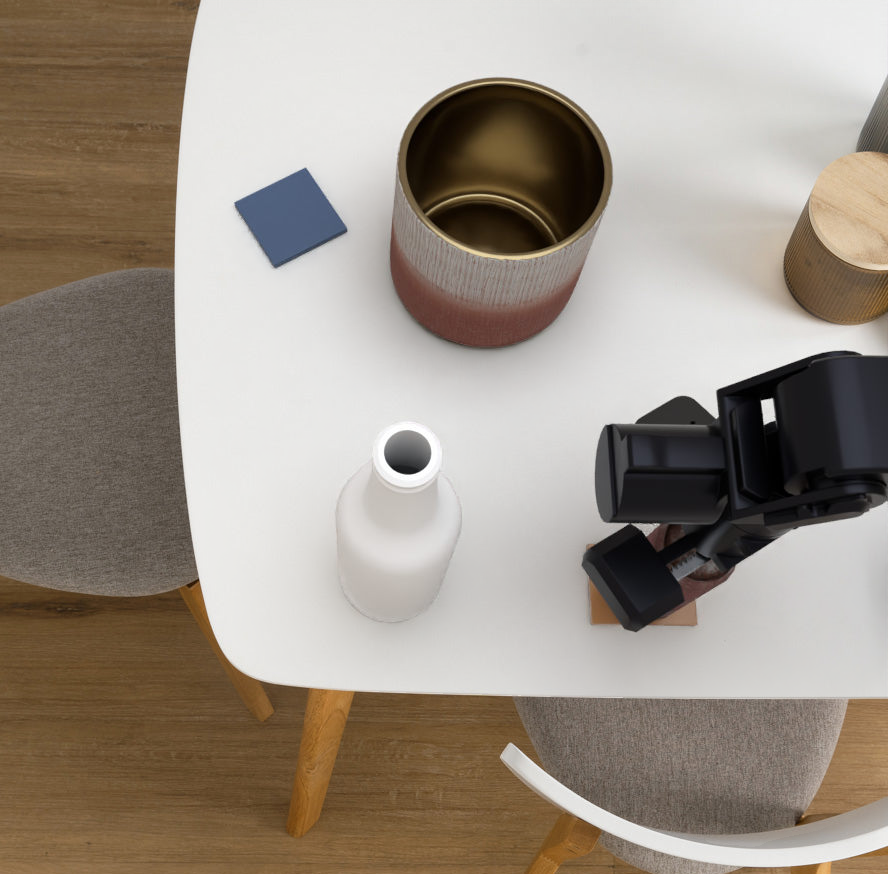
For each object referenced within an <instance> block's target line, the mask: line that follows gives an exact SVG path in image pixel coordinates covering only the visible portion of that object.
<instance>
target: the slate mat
mask: <svg viewBox="0 0 888 874" xmlns="http://www.w3.org/2000/svg"><path fill="white" fill-rule="evenodd" d="M233 203H234V207H235V209H236V210H237V212H238V213H239V215H240V217H241V218H242V219H243V221H244V222H245V224H246V226H247V227H248V229H249V231H250V232H251V233H252V235H253V237H254V238H255V240H256V242H258V244H259V246H260V247H261V249H262V251H263V252H264V254H265V255H266V257H267V258H268V260H269V262H270V263H271V265H272V266H273V268H275V269H277V268H278V267H280V266H283V265H284V264H287V263H289V262H291V261H292V260H294V259H296V258H299V257H300V256H302V255H304V254H306V253H308V252H310V251H312V250H313V249H316V248H317V247H319V246H322V245H324V244H325V243H328V242H329V241H332V240H333V239H335V238H338V237H340V236H342V235H343V234H346V233H347V232H348V227H347V226H346V224H345V223H344V221H343V220H342V218H341V217H340V215H339V214H338V212H337V211H336V210H335V208H334V206H333V205H332V204H331V202H330V201H329V199H328V198H327V196H326V195H325V193H324V192H323V190H322V189H321V187H320V186H319V184H318V182H317V181H316V179H315V178H314V177H313V175H312V174H311V172H310V171H309V170H308V168H307V167H306V166H305V167H304V168H301V169H299V170H297V171H295V172H293V173H291V174H289V175H287V176H285V177H283V178H281V179H279V180H277V181H274V182H273V183H271V184H268V185H267V186H264V187H262V188H261V189H258V190H257V191H255V192H253V193H250V194H248V195H246V196H244V197H242V198H240V199H238V200H236V201H235V202H233Z"/></svg>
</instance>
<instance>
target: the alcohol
mask: <svg viewBox="0 0 888 874" xmlns="http://www.w3.org/2000/svg"><path fill="white" fill-rule="evenodd" d="M442 462H443V448H442V444H441V442H440V440H439V438H438V437H437V435H436V434H435V432H433V431H432V430H431V429H430V428H429V427H427V426H426V425H424V424H421V423H418V422H414V421H399V422H395V423H393V424H390V425H388V426H387V427H385V428H384V429H383V430H382V431H381V432H380V433H378V435H377V436H376V438H375V440H374V442H373V446H372V456H371V460H369V461H368V462H366V463H365V464H363V465H362V466H360V467H359V468H358V469H357V470H356V471H355V472H354V473H353V474H352V475H351V476H350V477H349V478H348V480H347V481H346V482H345V484H344V485H343V486H342V489H341V491H340V493H339V495H338V498H337V500H336V506H335V511H334V517H335V518H334V520H335V521H334V522H335V535H336V549H337V559H338V560H337V561H338V572H339V581H340V585H341V589H342V591H343V592H344V595H345V597H346V599H347V600H348V601H349V602H350V604H351V605H352V606H353V607H354V608H355V609H356V610H357V611H358V612H360V613H361V614H363V615H364V616H366V617H367V618H370V619H373V620H375V621H378V622H385V623H399V622H404V621H407V620H410V619H413V618H415V617H417V616H419V615H420V614H421V613H423V612H424V611H425V610H427V609H428V608H429V607H430V606H431V604H432V603H434V601H435V599H436V597H437V596H438V594H439V592H440V589H441V587H442V583H443V581H444V578H445V575H446V573H447V571H448V568H449V565H450V562H451V560H452V558H453V557H452V556H453V554H454V551H455V549H456V546H457V545H458V544H457V543H458V541H459V538H460V535H461V531H462V525H463V511H462V506H461V501H460V499H459V496H458V494H457V491H456V489H455V488H454V486H453V484H452V482H451V481H450V479H449V478H448V477H447V476H446V474H445V472H443V471H442V470H441V466H442Z"/></svg>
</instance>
